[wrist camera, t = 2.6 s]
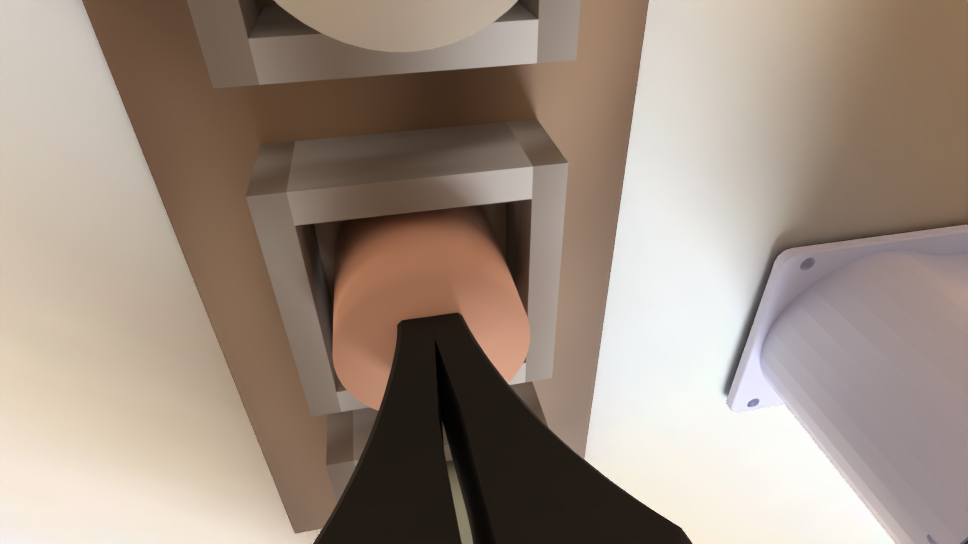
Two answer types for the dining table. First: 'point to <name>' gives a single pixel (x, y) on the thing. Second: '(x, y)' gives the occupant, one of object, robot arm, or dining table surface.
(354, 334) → the terracotta button
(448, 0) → the cream button
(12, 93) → the dining table surface
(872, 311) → the robot arm
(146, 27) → the button board
